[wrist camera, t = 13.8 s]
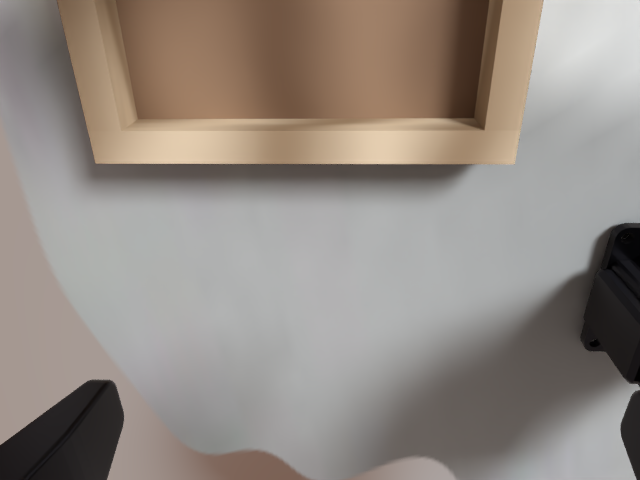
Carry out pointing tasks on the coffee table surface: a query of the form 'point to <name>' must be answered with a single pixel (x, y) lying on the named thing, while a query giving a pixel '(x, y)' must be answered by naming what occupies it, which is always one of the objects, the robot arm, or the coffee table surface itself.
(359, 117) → the keyhole board
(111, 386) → the robot arm
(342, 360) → the coffee table surface
